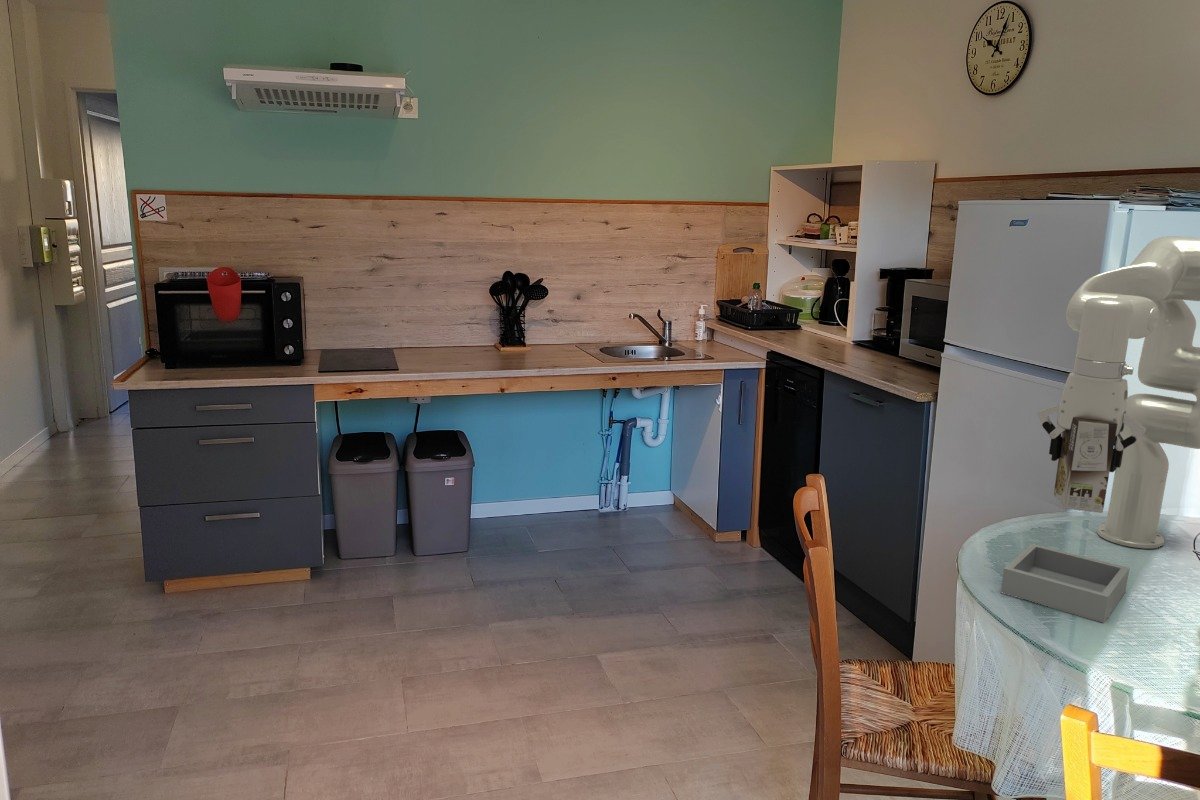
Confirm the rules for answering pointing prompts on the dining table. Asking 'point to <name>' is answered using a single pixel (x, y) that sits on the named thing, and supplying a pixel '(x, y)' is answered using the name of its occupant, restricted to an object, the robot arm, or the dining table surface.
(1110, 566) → the grey bin
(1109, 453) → the coffee box
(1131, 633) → the dining table surface
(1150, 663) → the dining table surface
